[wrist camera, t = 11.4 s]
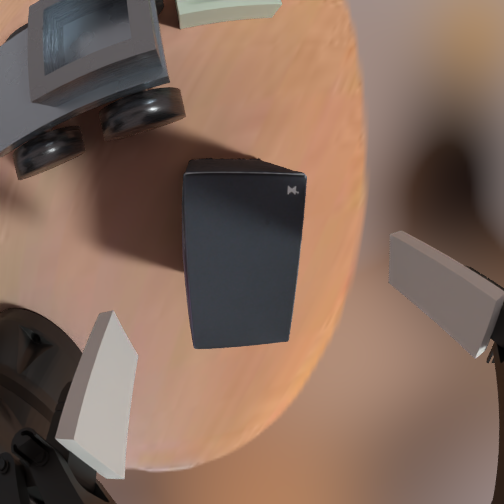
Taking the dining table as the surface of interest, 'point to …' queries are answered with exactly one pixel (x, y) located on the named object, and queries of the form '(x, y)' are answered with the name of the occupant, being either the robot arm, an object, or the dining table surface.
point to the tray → (223, 10)
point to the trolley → (82, 78)
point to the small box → (241, 250)
